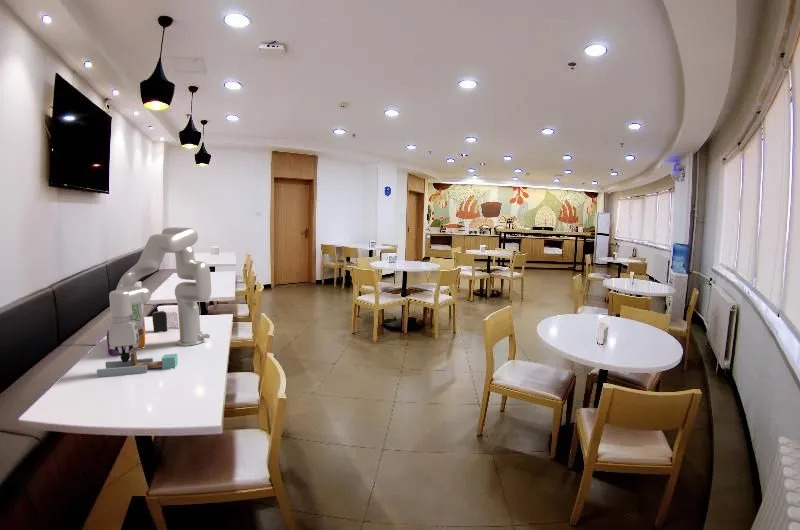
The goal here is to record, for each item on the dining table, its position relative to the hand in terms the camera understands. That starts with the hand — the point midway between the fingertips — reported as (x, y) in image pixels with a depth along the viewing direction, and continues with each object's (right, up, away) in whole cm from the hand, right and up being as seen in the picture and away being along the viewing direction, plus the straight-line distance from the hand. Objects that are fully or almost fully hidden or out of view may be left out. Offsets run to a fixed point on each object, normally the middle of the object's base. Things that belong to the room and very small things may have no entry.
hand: (125, 361), depth 179 cm
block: (+16, -4, +5) cm, 17 cm away
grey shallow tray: (0, -4, +1) cm, 4 cm away
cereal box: (-18, +1, +38) cm, 42 cm away
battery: (-18, +4, +57) cm, 60 cm away
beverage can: (-17, -2, +20) cm, 27 cm away
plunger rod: (+8, -4, +3) cm, 9 cm away
